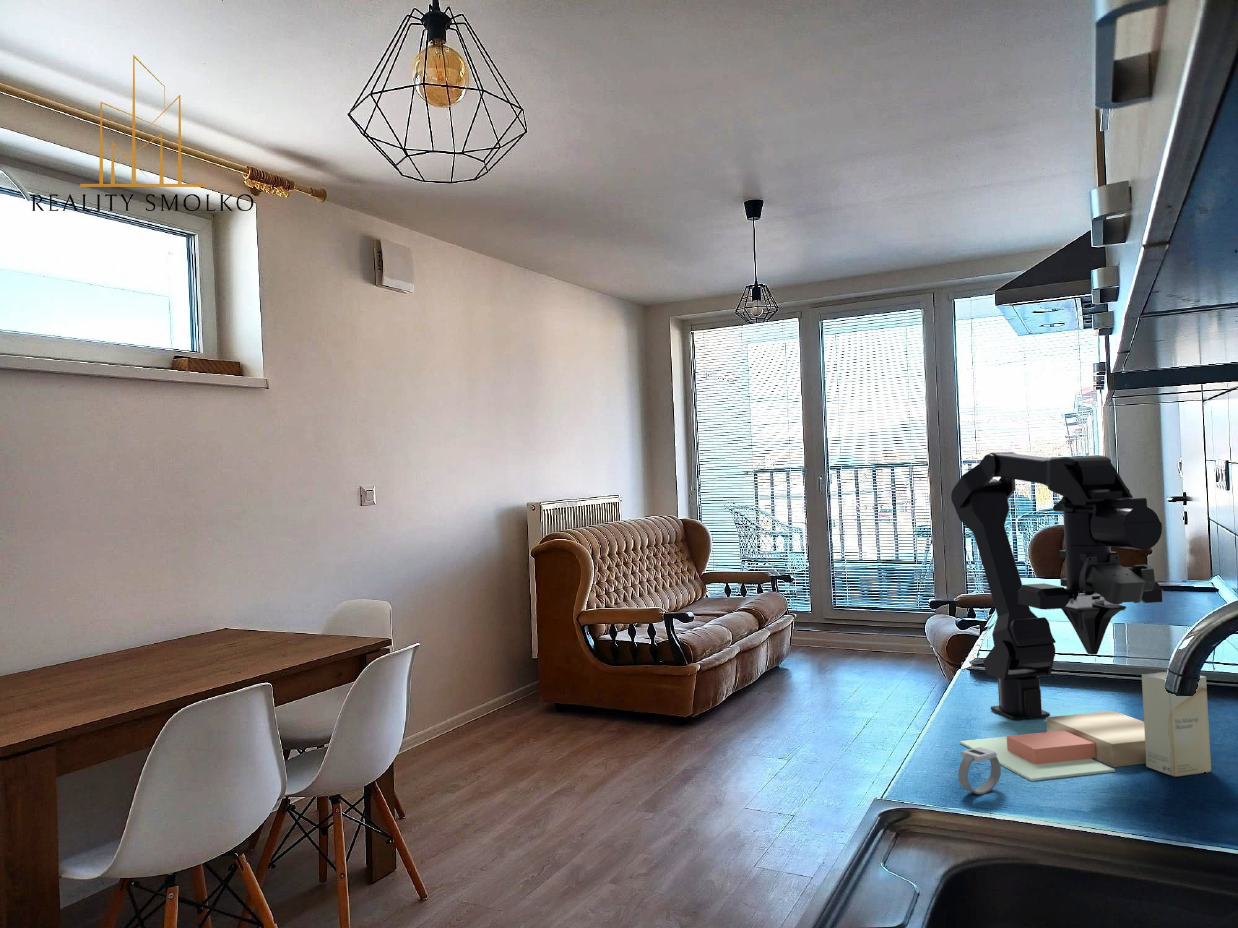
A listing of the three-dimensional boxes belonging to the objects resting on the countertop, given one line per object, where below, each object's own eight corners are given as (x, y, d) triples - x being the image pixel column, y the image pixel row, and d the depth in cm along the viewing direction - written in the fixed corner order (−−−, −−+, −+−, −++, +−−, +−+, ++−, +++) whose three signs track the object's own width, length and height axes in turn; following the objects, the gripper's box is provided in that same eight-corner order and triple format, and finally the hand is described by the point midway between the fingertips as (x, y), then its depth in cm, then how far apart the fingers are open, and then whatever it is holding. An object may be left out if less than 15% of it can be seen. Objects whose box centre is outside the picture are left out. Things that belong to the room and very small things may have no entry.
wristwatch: (988, 783, 107) (986, 743, 107) (1007, 790, 105) (1005, 749, 105) (953, 793, 105) (951, 752, 105) (972, 800, 102) (970, 759, 102)
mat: (959, 743, 123) (959, 740, 123) (1034, 735, 125) (1034, 733, 125) (1031, 780, 108) (1031, 778, 108) (1114, 771, 110) (1114, 769, 110)
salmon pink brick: (1034, 764, 113) (1034, 748, 113) (1007, 750, 118) (1006, 735, 119) (1095, 757, 114) (1095, 742, 114) (1065, 744, 120) (1064, 730, 120)
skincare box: (1174, 778, 106) (1169, 681, 107) (1144, 767, 111) (1139, 673, 111) (1213, 771, 108) (1208, 676, 108) (1182, 760, 112) (1177, 668, 113)
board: (1047, 737, 124) (1046, 717, 124) (1113, 730, 126) (1112, 710, 126) (1113, 766, 111) (1111, 743, 111) (1186, 758, 113) (1185, 736, 113)
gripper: (1064, 552, 111) (1069, 671, 111) (1192, 545, 114) (1197, 661, 114) (1013, 545, 122) (1018, 654, 122) (1131, 539, 125) (1135, 645, 125)
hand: (1092, 654), depth 120 cm, fingers closed
